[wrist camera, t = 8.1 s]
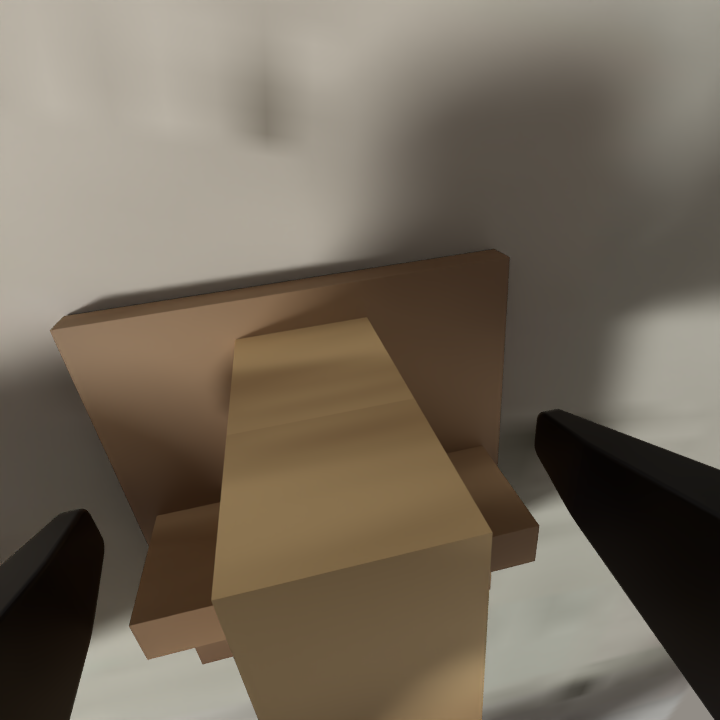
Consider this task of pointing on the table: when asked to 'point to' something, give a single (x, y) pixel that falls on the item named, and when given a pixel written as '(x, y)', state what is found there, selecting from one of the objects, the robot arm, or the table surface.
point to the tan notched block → (346, 538)
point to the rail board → (212, 397)
